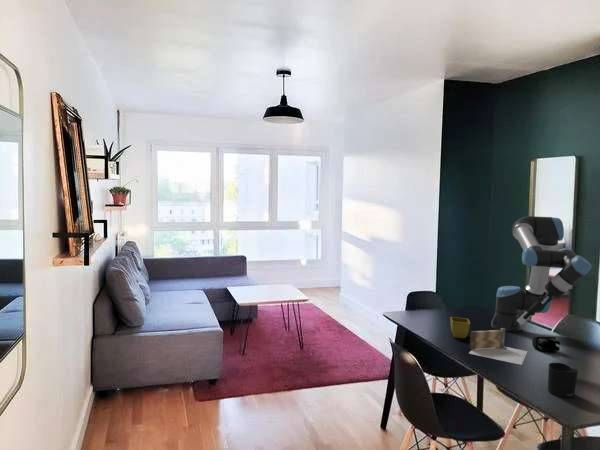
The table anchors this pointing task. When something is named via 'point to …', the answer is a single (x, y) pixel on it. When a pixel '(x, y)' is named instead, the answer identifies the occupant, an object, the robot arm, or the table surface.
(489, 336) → the gate
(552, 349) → the end cap
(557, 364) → the pen holder
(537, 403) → the table surface
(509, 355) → the base
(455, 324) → the flower pot
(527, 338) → the table surface
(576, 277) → the robot arm
